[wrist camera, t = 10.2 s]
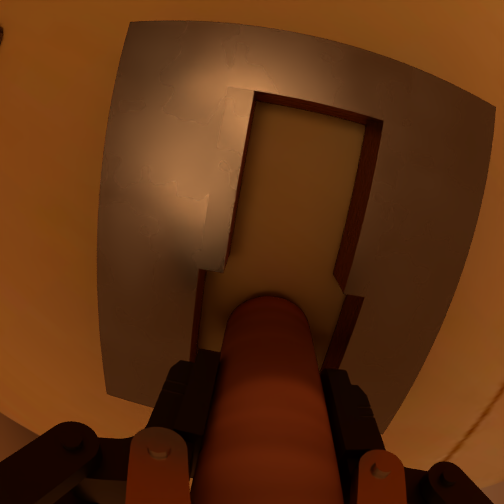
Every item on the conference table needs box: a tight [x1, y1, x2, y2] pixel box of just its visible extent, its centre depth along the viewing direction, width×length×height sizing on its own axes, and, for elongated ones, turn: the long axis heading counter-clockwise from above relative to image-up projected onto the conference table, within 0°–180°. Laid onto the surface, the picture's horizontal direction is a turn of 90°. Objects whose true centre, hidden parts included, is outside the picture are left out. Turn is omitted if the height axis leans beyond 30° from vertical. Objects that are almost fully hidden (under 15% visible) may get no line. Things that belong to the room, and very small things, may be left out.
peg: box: [190, 296, 344, 504], centre depth 8 cm, size 4×4×10 cm
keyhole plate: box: [97, 21, 496, 434], centre depth 12 cm, size 16×14×2 cm
